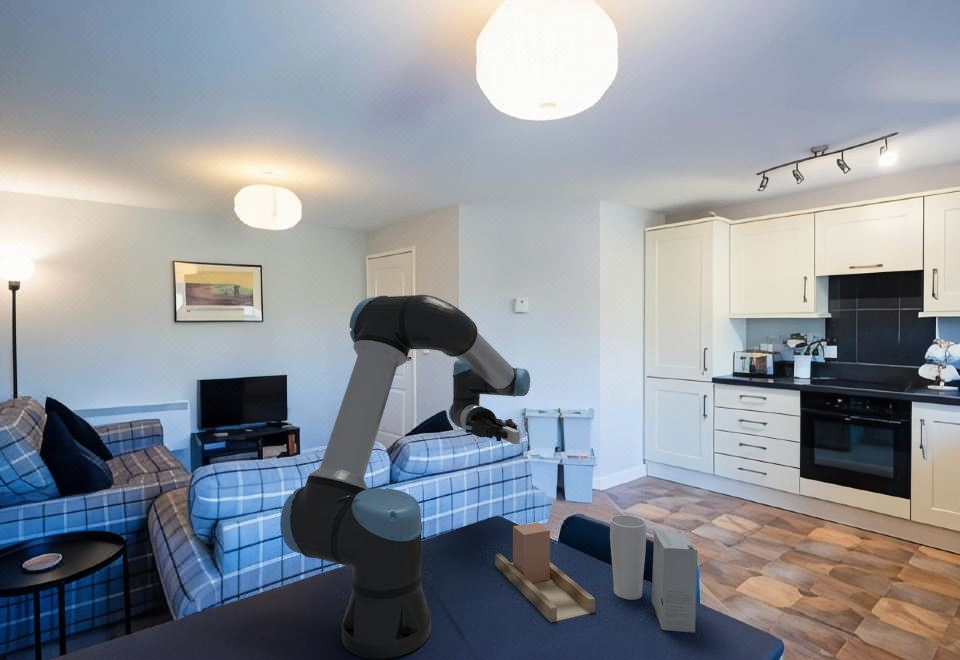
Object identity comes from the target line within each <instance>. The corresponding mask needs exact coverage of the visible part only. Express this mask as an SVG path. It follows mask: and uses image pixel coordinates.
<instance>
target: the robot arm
mask: <svg viewBox="0 0 960 660" xmlns="http://www.w3.org/2000/svg"><path fill="white" fill-rule="evenodd" d="M349 329H351V330H350V331H349V334H350V338H351V341H352V343H353V350H354V352H355V354H356V355H357V357H356V359H355V363H354V365H353V368H352V372H351V374H350V377H349V380H348V384H347V386H346V389H345V392H344V395H343V398H342V401H341V405H340V407H339V410H338V413H337V416H336V419H335V422H334V425H333V428H332V431H331V433H330V437H329V440H328V443H327V446H326V449H325V451H324V455H323V458H322V461H321V463H320V466H319V467H318V469H316V470H314V471H313V472H311V473H309V474H308V476H307V479H306V482H305V485H304V486H302V487H299V488H296V489H295V490H294V491H293V493H290V494H289V496H287V499H286V500H285V502H284V504H283V507H282V509H281V514H280V520H279V521H280V522H279V526H280V528H279V529H280V533H281V536H282V537H283V542H284V543H285V545H286V546H287V547H288V548H289V550H291V551H293V552H295V553H297V554H301V555H303V557H306V558H310V559H318V560H322V561H327V562H330V563H334V564H338V565H341V566H342V565H343V566H347V567H351V568H352V589H351V594H350V598H349V601H348V603H347V606H346V610H345V613H344V616H343V619H342V623H341V642H342V645H343V647H344V648H345V649H346V650H347V651H349V653H351V654H353V655H355V656H357V657H359V658H365V659H371V660H386V659H394V658H397V657H402V656H404V655H407V654H410V653H412V652H414V651H416V650H417V649H419V648H421V647H422V646H423V645H424V644H425V643H426V642H427V641H428V639H429V637H430V635H431V632H432V617H431V615H432V614H431V611H430V609H429V608H430V607H429V605H428V601H427V599H426V596H425V593H424V589H423V586H422V531H423V521H422V513H421V511H422V510H421V506H420V504H419V502H418V500H417V499H416V498H415V497H414V496H412V495H411V494H410V493H407V492H404V491H402V490H398V489H394V488H388V487H387V488H380V487H375V488H369V487H368V485H367V483H366V482H365V475H366V472H367V469H368V466H369V462H370V459H371V455H372V453H373V448H374V446H375V444H376V439H377V436H378V434H379V433H378V432H379V429H380V426H381V422H382V418H383V415H384V412H385V409H386V406H387V405H386V404H387V402H388V399H389V395H390V392H391V389H392V385H393V382H394V378H395V375H396V372H397V368H398V367H400V366H402V365H404V364H406V363H407V359H408V356H409V353H410V350H431V351H439V352H441V353H443V354H444V355H446V356H448V357H452V358H456V359H457V360H455V362H453V370H452V371H453V372H452V380H453V381H452V385H453V386H452V391H453V392H452V395H453V398H452V404H451V405H450V407H449V409H448V417H449V419H450V421H451V422H452V423H453V424H454V425H455V426H456V427H458V428H460V429H463V430H465V433H467V434H468V433H469V434H472V435H473V436H475V437H478V438H488V439H493V438H495V439H496V440H495V442H501V441H502V440H504V441H505V442H509V443H510V444H513V445H519V444H520V443H521V440H520V439H521V437H520V436H521V435H520V434H521V431H520V430H518V425H517V424H516V423H515V422H513V419H512V418H508V419H505V420H504V421H503V420H502V419H501V418H497V416H496V414H495V412H493V411H492V410H491V409H488V408H486V407H484V406H482V405H480V399H481V396H480V395H490V396H503V397H504V396H505V397H509V396H510V397H512V398H513V397H525V396H527V395H528V394H529V391H530V388H531V376H530V375H531V374H530V372H529V370H528V369H526V368H520V367H513V366H512V365H511V364H510V363H509V362H508V361H507V360H506V358H504V357H503V356H502V355H501V354H500V353H499V352H498V351H497V350H496V349H495V348H494V347H493V346H492V345H491V344H490V343H489V342H488V341H487V339H485V338H484V337H483V336H482V335H481V334H480V333H479V330H478V327H477V324H476V322H475V321H473V319H472V318H470V316H468V315H467V314H466V313H465V312H464V311H462V310H461V309H459V308H458V307H457V306H455V305H453V304H452V303H449V302H448V301H446V300H443V299H441V298H439V297H436V296H432V295H428V294H417V295H414V294H412V295H394V296H393V295H391V296H390V295H389V296H388V295H378V296H374V297H373V296H371V297H368V298H365V299H363V300H362V301H360V302H359V303H358V304H357V305H356V306H355V308H354V309H353V311H352V313H351V316H350V319H349Z"/></svg>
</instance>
